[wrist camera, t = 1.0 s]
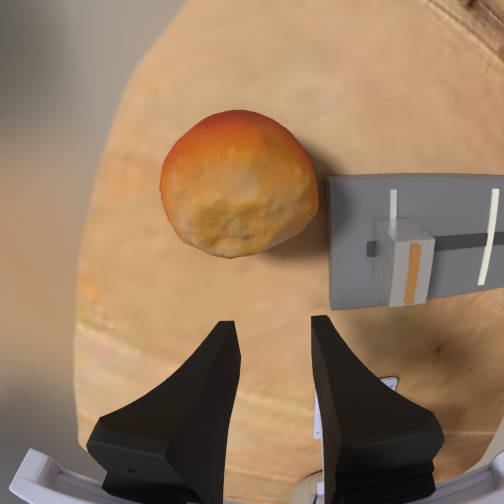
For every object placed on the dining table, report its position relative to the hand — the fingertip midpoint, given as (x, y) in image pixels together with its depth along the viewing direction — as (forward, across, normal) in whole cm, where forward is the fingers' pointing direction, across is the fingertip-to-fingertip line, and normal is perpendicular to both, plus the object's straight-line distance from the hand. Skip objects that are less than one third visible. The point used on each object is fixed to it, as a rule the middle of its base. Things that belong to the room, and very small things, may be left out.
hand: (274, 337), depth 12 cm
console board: (+9, -12, 0) cm, 15 cm away
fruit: (+10, +2, -5) cm, 11 cm away
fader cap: (+8, -8, 0) cm, 11 cm away
